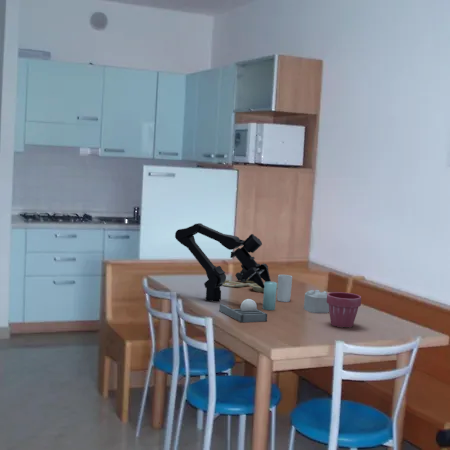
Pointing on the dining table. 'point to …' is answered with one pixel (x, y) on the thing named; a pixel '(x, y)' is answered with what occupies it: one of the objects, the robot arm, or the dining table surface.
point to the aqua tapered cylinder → (269, 295)
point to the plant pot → (343, 308)
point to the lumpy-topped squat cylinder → (316, 302)
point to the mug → (284, 288)
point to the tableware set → (238, 284)
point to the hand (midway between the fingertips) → (267, 286)
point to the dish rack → (244, 314)
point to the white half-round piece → (248, 305)
